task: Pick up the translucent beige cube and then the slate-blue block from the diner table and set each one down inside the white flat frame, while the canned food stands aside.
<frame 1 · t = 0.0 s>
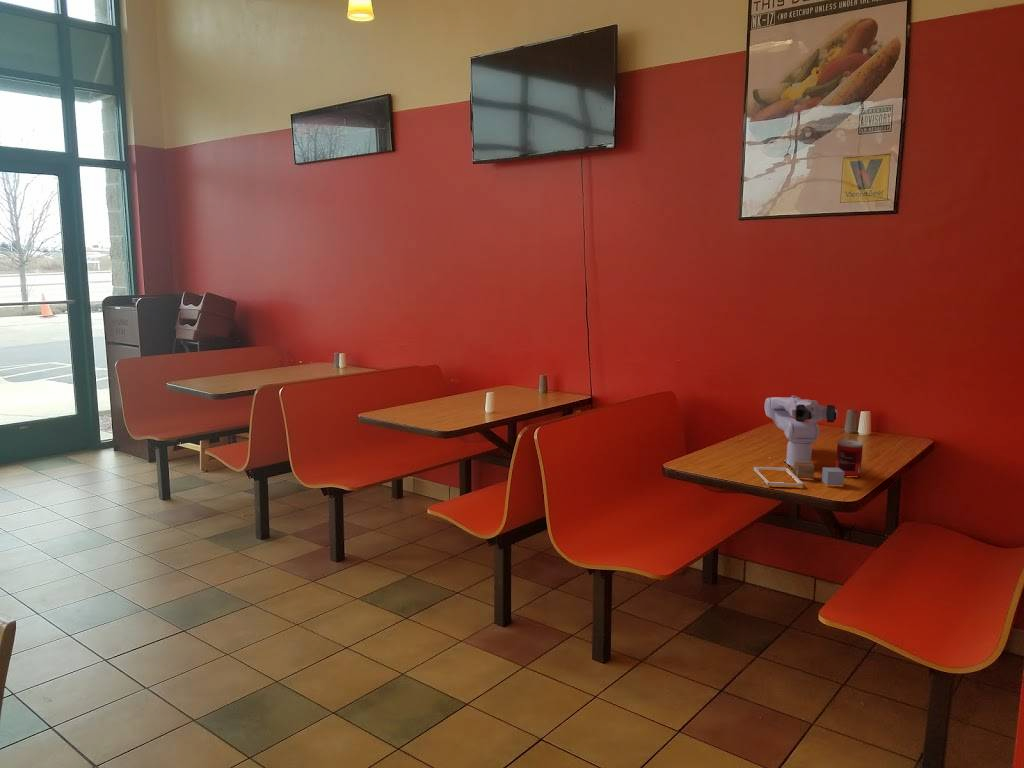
hand: (822, 415, 244), 22 cm above the table, tool horizontal, fingers open, 7 cm apart
canned food: (847, 475, 257), on the table
translucent beige cube: (802, 478, 253), on the table
slate-blue block: (832, 485, 246), on the table
white flat frame: (777, 479, 251), on the table
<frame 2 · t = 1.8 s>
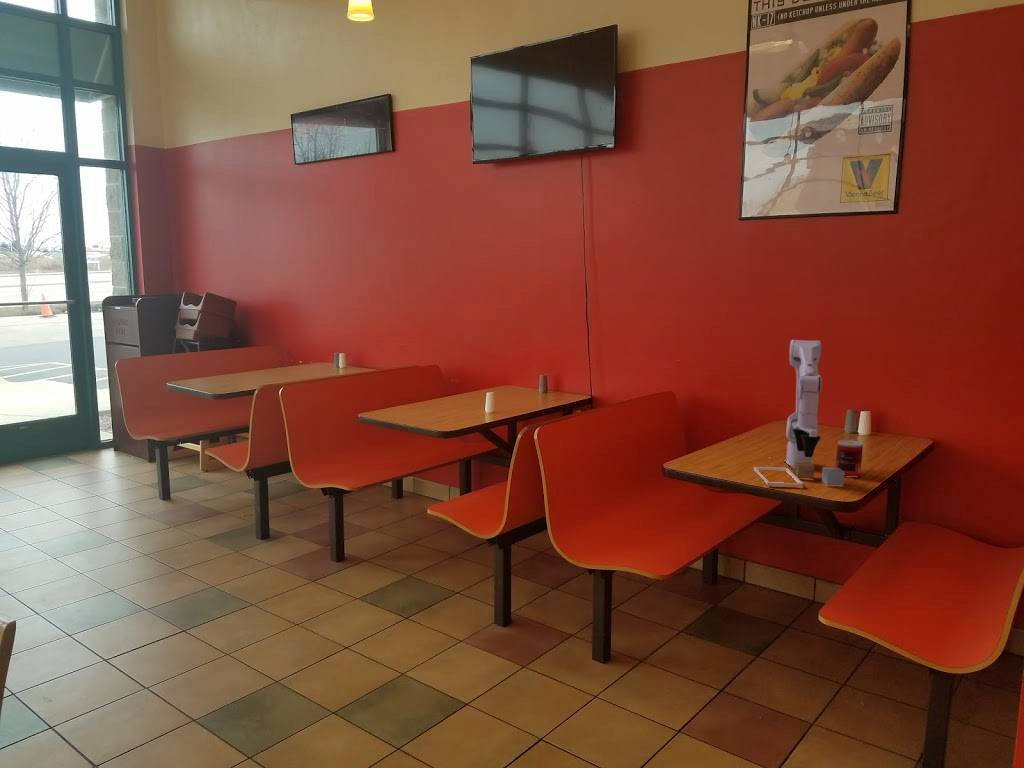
hand: (804, 453, 252), 8 cm above the table, tool pointing down, fingers open, 7 cm apart
nothing on the table moved.
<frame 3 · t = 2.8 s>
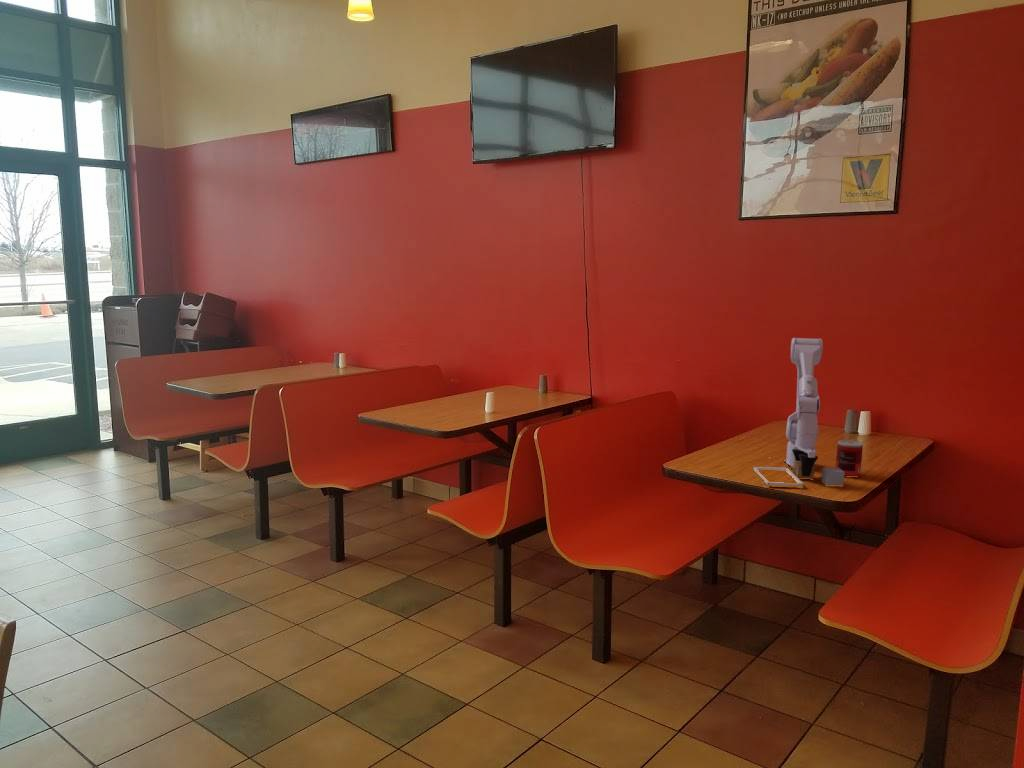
hand: (803, 473, 253), 1 cm above the table, tool pointing down, fingers closed on translucent beige cube, 5 cm apart
translucent beige cube: (802, 477, 253), on the table, touching gripper
everything else where it was.
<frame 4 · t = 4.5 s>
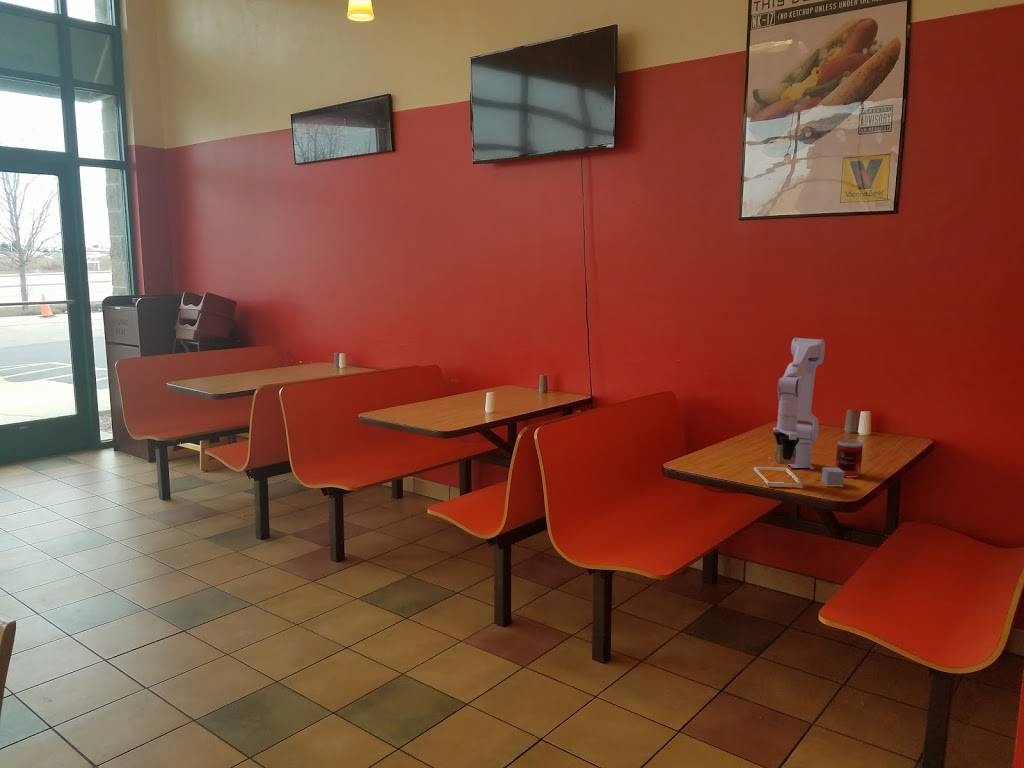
hand: (784, 456, 246), 9 cm above the table, tool pointing down, fingers closed on translucent beige cube, 5 cm apart
translucent beige cube: (784, 462, 246), point 7 cm above the table, touching gripper
everything else where it was.
when the fingers open (3 cm above the table, at t = 6.1 s): translucent beige cube stays where it is, resting on white flat frame.
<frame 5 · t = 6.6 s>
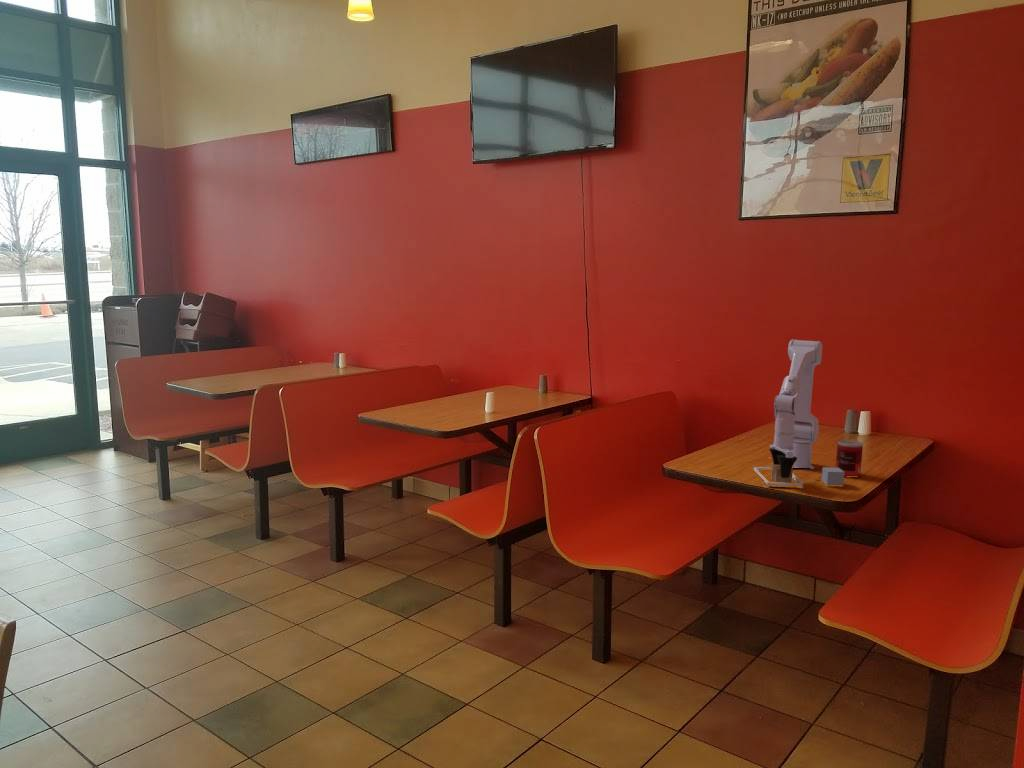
hand: (781, 474, 246), 3 cm above the table, tool pointing down, fingers open, 7 cm apart
translucent beige cube: (781, 482, 247), resting on white flat frame
everything else where it was.
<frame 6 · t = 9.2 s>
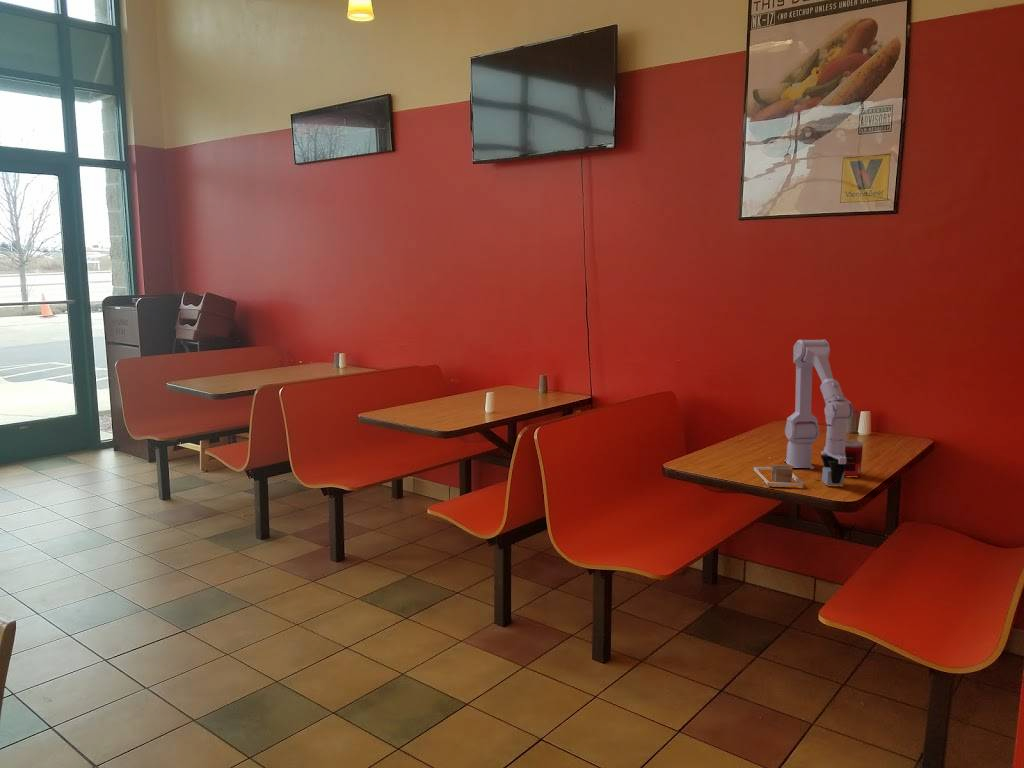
hand: (832, 480, 246), 1 cm above the table, tool pointing down, fingers closed on slate-blue block, 5 cm apart
slate-blue block: (832, 484, 246), on the table, touching gripper
everything else where it was.
when the fingers open (3 cm above the table, at t = 12.8 s): slate-blue block stays where it is, resting on white flat frame.
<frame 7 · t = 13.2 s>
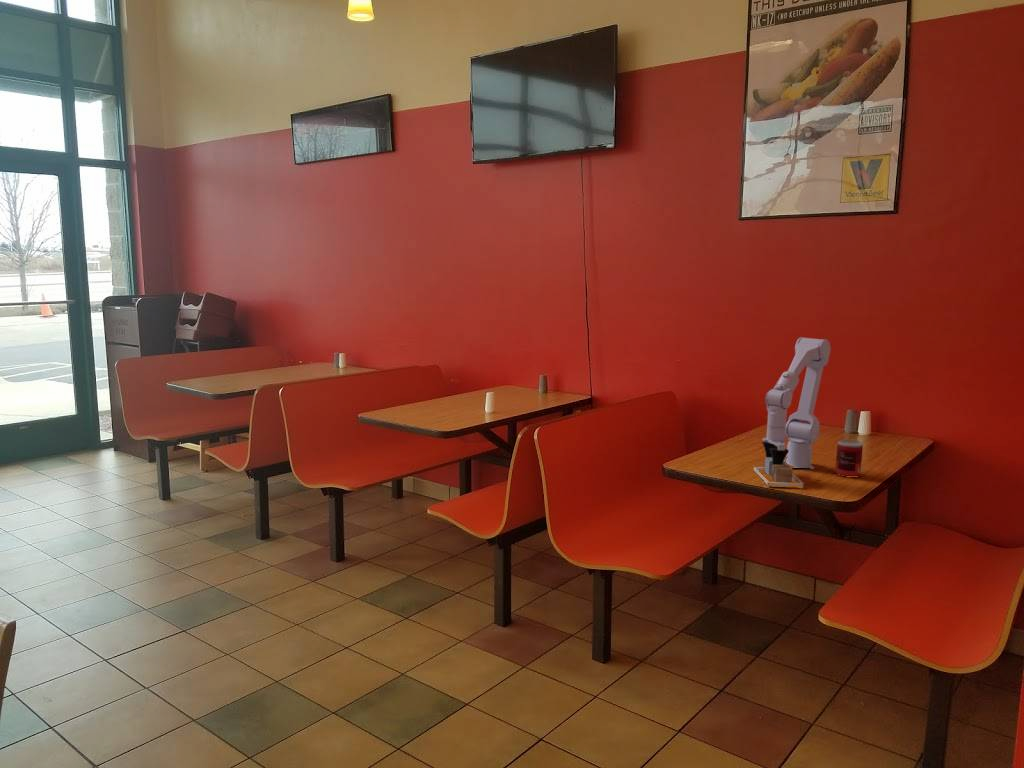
hand: (773, 466, 255), 3 cm above the table, tool pointing down, fingers open, 7 cm apart
slate-blue block: (774, 474, 256), resting on white flat frame
everything else where it was.
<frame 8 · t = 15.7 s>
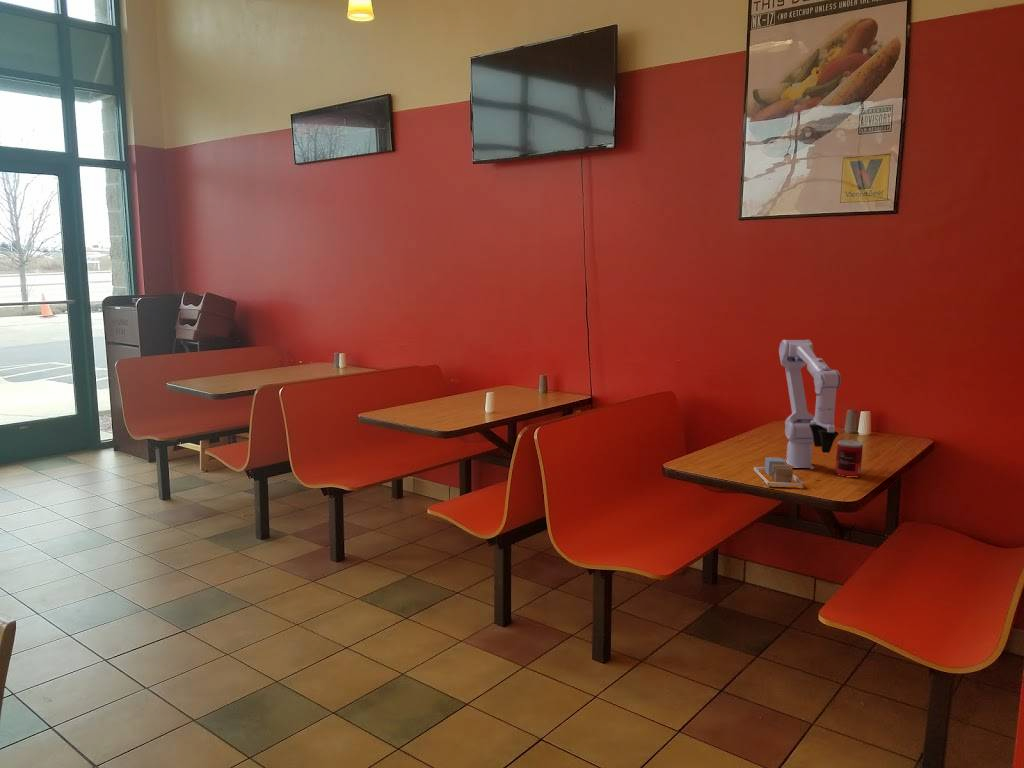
hand: (821, 449, 250), 10 cm above the table, tool pointing down, fingers open, 7 cm apart
nothing on the table moved.
at the end: translucent beige cube inside the target area on the white flat frame (4.0 cm from its centre), point 0.4 cm above the white flat frame's base; slate-blue block inside the target area on the white flat frame (5.0 cm from its centre), point 0.4 cm above the white flat frame's base; the gripper is holding nothing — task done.
